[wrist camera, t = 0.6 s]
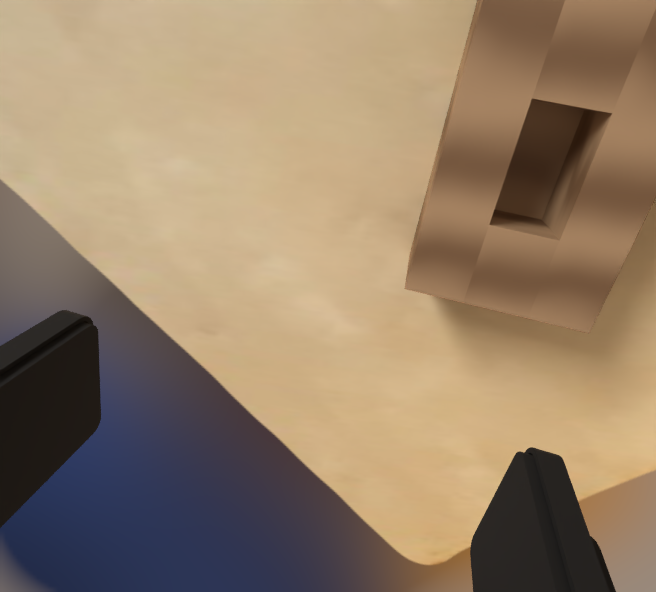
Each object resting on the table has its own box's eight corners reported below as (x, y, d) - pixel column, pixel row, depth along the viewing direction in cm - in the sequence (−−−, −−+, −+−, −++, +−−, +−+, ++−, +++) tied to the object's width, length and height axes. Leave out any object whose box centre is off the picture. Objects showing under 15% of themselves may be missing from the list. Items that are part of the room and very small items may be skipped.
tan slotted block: (479, -6, 29) (491, -33, 23) (677, 26, 28) (748, 7, 21) (409, 255, 37) (404, 288, 31) (561, 290, 36) (589, 333, 29)
